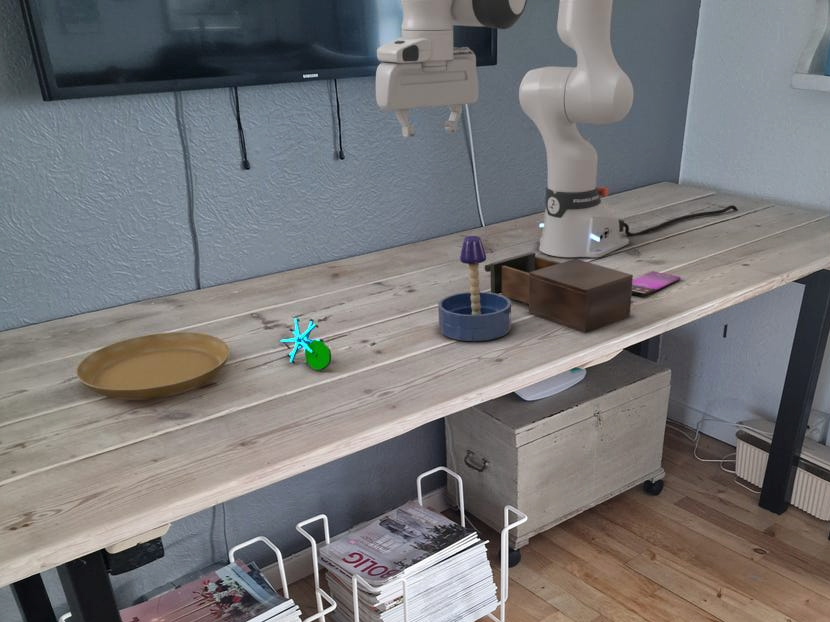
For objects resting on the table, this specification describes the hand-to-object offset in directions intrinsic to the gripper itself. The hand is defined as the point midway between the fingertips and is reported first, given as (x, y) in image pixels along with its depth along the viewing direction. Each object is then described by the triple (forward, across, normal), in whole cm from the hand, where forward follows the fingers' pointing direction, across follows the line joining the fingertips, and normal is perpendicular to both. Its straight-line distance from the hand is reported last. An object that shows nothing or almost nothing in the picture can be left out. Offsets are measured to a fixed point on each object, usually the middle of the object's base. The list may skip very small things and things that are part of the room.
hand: (430, 134), depth 158 cm
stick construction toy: (+33, +32, +8) cm, 47 cm away
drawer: (+31, -17, +8) cm, 36 cm away
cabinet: (+32, -18, +22) cm, 43 cm away
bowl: (+32, +2, +15) cm, 36 cm away
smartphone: (+31, -41, +19) cm, 55 cm away
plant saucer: (+34, +55, -2) cm, 65 cm away
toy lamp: (+32, +2, +15) cm, 36 cm away
